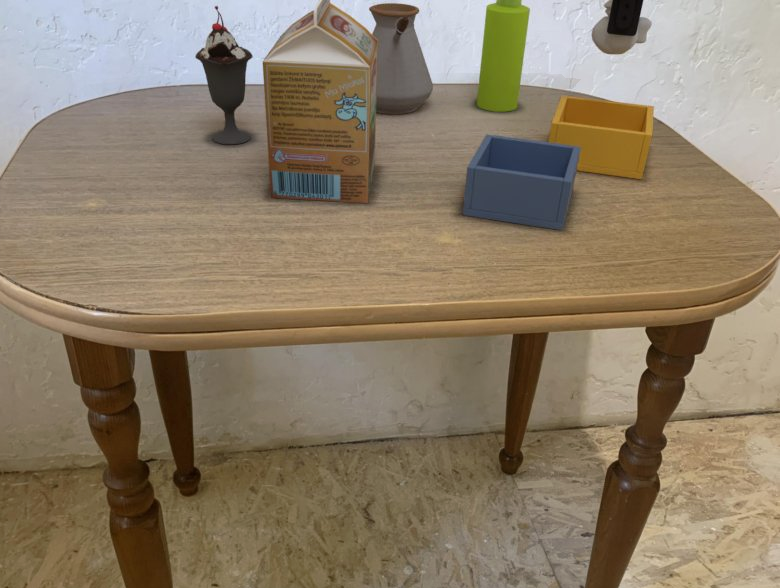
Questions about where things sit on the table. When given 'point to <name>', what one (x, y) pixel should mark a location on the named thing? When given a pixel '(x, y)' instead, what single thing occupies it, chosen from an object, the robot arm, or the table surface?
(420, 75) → the coffee pot
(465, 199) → the slate bin
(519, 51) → the soap dispenser
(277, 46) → the milk carton
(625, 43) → the grey rounded piece
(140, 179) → the table surface
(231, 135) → the sundae
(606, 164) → the mustard bin
